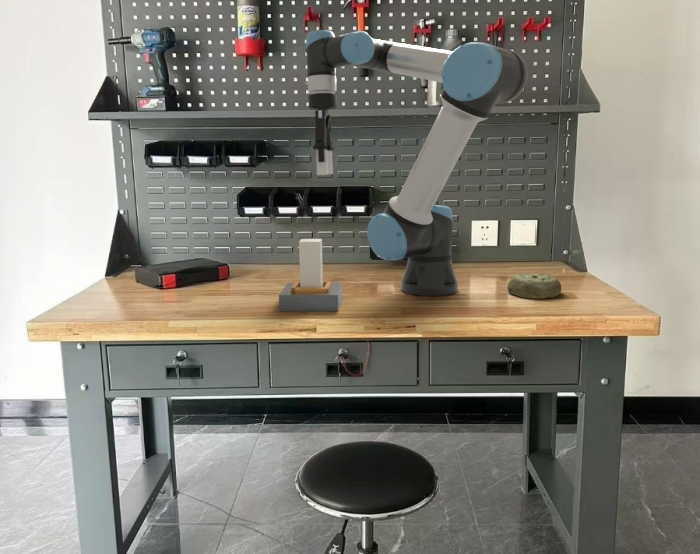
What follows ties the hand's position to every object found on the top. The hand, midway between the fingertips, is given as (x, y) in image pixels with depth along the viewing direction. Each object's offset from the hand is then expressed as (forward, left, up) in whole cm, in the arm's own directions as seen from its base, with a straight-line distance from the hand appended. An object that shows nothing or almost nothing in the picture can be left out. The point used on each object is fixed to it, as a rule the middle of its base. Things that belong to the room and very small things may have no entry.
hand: (325, 174), depth 163 cm
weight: (-55, +9, -32) cm, 64 cm away
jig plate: (+2, +21, -31) cm, 38 cm away
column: (+2, +21, -27) cm, 34 cm away
